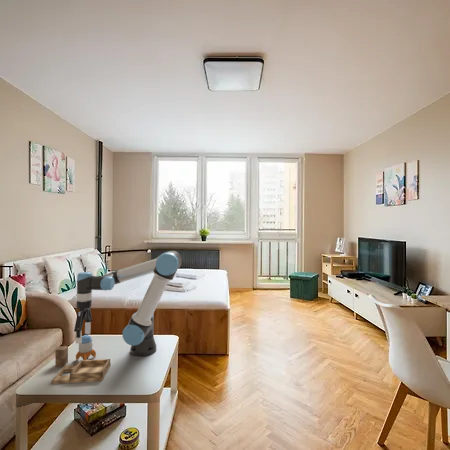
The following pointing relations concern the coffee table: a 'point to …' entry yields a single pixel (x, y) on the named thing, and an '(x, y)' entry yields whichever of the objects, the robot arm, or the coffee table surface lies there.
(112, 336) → the coffee table surface
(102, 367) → the tray
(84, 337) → the toy rocket
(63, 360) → the block
